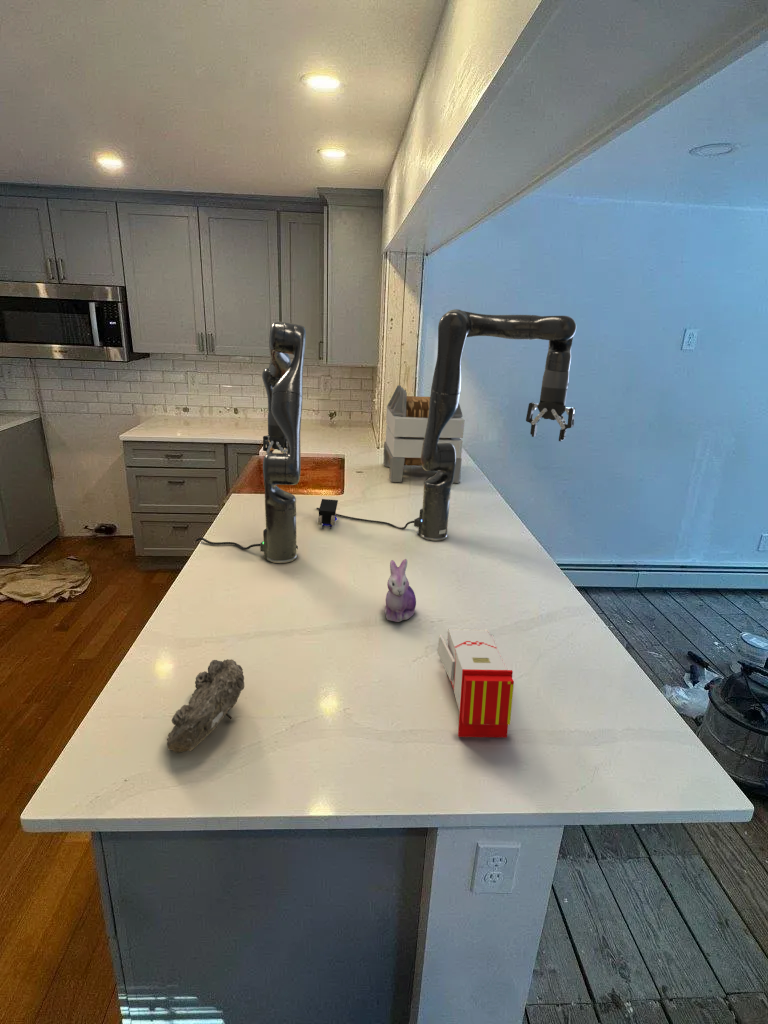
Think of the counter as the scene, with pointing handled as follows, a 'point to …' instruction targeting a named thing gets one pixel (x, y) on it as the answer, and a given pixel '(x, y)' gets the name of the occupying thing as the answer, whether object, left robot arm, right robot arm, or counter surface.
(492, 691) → the toy
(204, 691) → the fossil
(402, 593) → the figurine
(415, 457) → the grey slatted planter box
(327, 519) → the figurine character
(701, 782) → the counter surface
